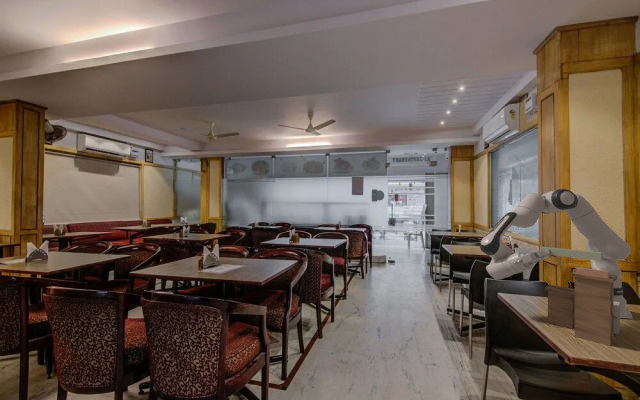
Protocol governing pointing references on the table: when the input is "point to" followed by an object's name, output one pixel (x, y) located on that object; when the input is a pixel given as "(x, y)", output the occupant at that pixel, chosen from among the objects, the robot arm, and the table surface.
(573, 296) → the low shelf
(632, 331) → the table surface
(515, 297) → the table surface
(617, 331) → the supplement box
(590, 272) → the terracotta rod
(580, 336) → the brown wooden tall block
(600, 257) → the sage rod
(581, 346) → the table surface
